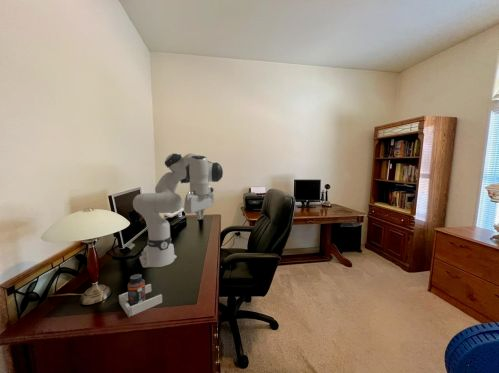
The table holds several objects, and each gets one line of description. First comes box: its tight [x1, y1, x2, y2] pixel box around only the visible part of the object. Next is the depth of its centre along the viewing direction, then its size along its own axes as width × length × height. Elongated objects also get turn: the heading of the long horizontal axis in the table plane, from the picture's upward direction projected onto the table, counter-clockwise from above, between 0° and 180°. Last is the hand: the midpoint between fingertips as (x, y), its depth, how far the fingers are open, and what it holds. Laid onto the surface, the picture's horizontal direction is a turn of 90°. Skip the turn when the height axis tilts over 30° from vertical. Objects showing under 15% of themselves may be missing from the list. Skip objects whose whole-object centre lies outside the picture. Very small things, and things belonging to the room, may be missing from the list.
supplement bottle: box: [127, 273, 147, 307], centre depth 84 cm, size 6×6×11 cm
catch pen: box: [118, 283, 163, 318], centre depth 86 cm, size 12×12×3 cm
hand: (200, 218), depth 104 cm, fingers closed
